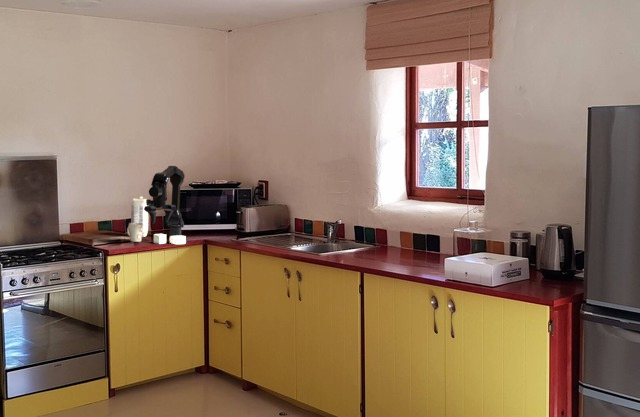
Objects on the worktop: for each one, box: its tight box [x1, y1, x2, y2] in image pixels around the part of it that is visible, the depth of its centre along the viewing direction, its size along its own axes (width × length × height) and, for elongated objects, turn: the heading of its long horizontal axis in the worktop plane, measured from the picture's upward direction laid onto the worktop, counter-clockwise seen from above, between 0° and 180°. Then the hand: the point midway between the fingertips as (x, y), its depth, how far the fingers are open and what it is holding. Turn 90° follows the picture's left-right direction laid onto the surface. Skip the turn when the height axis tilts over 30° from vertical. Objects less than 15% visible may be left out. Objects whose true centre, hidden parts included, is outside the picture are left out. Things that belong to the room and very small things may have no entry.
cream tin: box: [169, 234, 187, 245], centre depth 428 cm, size 9×9×4 cm
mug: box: [126, 222, 144, 243], centre depth 430 cm, size 8×13×10 cm, turn 53°
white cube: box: [153, 233, 167, 245], centre depth 425 cm, size 5×5×5 cm
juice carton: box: [130, 195, 149, 238], centre depth 446 cm, size 9×8×24 cm
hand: (160, 223), depth 425 cm, fingers open, 9 cm apart
